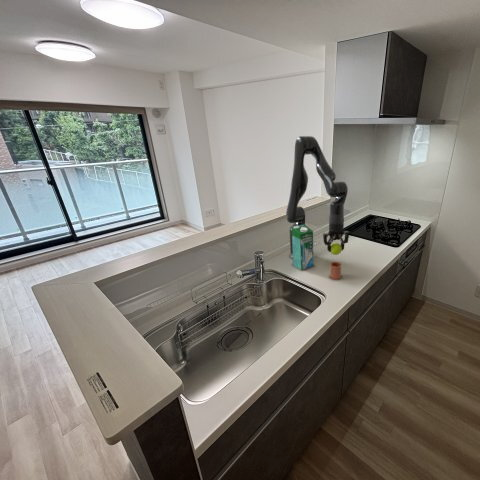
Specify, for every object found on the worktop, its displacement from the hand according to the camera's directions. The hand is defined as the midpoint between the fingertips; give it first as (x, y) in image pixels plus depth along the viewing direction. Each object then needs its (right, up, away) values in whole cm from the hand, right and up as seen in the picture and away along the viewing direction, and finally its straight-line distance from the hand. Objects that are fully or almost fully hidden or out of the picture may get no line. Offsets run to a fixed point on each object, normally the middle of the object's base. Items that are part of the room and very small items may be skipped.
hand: (335, 250), depth 140 cm
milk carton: (-18, -10, +20) cm, 28 cm away
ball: (0, +1, 0) cm, 1 cm away
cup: (+1, -15, +6) cm, 16 cm away
